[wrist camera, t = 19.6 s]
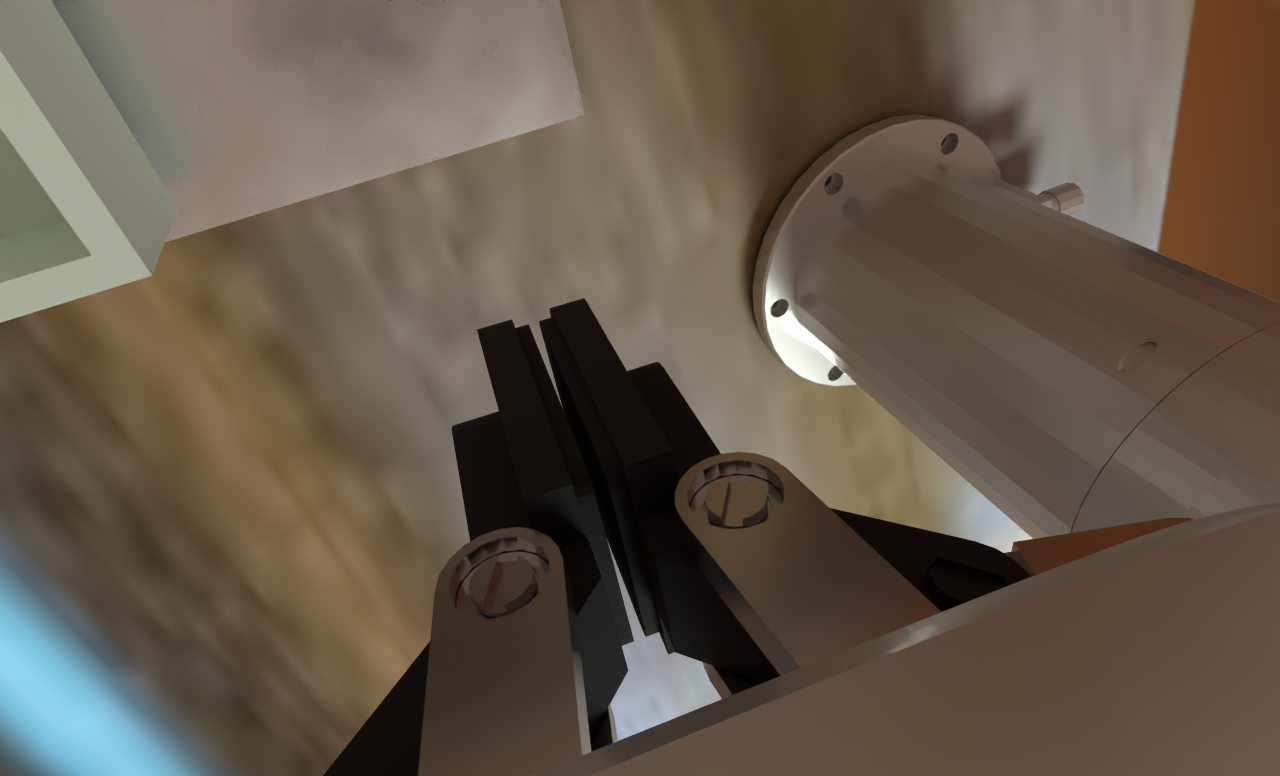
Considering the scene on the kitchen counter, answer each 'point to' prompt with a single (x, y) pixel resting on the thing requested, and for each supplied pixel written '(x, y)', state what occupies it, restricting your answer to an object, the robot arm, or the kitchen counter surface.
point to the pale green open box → (67, 173)
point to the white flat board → (318, 89)
